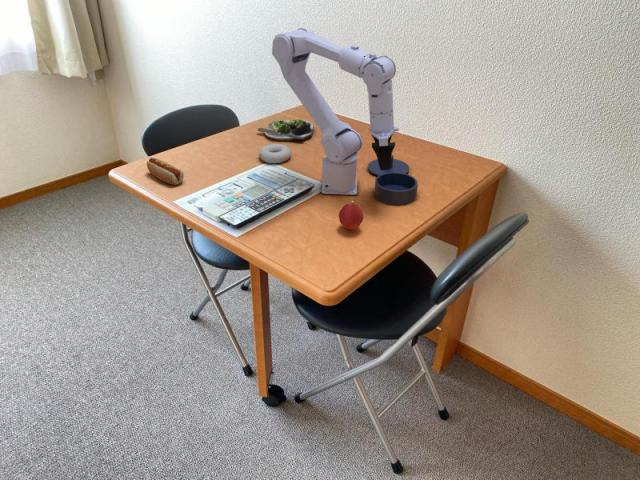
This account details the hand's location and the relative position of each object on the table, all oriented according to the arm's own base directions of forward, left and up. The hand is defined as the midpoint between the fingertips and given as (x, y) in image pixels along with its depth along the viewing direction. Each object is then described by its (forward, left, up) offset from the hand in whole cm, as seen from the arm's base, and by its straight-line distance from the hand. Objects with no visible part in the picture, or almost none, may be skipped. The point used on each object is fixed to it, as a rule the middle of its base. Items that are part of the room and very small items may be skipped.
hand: (384, 164), depth 122 cm
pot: (+4, +4, -11) cm, 12 cm away
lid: (+2, +19, -10) cm, 21 cm away
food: (-62, +8, -11) cm, 63 cm away
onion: (-8, -15, -11) cm, 20 cm away
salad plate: (-31, +45, -11) cm, 56 cm away
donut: (-33, +24, -11) cm, 42 cm away
